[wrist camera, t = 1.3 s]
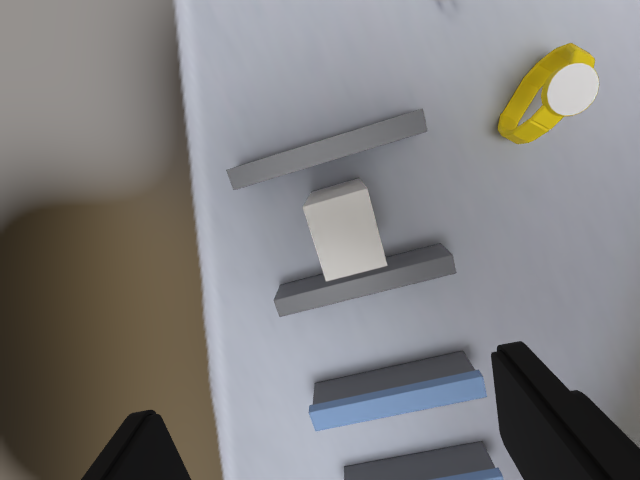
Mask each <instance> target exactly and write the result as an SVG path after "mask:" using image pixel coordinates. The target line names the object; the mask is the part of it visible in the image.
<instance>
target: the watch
mask: <svg viewBox="0 0 640 480" xmlns="http://www.w3.org/2000/svg"><path fill="white" fill-rule="evenodd" d="M568 64H569V65H568ZM594 64H595V59H594V58H593V57H592V56H591V55H590V54H589V53H588V52H586V51H585V50H583V49H581V48H579V47H578V46H576V45H574V44H573V43H569V44H566V45H563V46H561V47H558V48H556V49H554V50H553V51H551V52H550V53H549V54H547V55H546V56H545V57H544V58H542V59H541V60H540V61H539V63H537V64H536V65H535V66H534V67H533V68H532V69H531V70H530V71H529V72H528V74H527V75H526V76H525V77H524V78H523V80H522V81H521V83H520V85H519V86H518V88H517V90H516V91H515V93H514V95H513V96H512V98H511V100H510V101H509V103H508V105H507V106H506V108H505V109H504V111H503V113H501V114H500V119H499V124H498V131H499V133H500V134H501V135H502V136H503V137H505V138H507V139H509V140H510V141H512V142H514V143H516V144H523V143H529V142H532V141H534V140H535V139H537V138H539V137H540V136H542V135H543V134H545V133H547V132H548V131H549V130H550V129H552V128H553V127H554V126H555V125H556V124H557V123H558V122H559V121H560V120H561V119H562V118H563V117H565V116H573V115H576V114H579V113H581V112H582V111H584V110H585V109H587V108H588V107H589V106H590V105H591V103H592V102H593V101H594V99H595V97H596V95H597V93H598V89H599V78H598V75H597V73H596V71H595V70H594V69H593V68H594ZM542 86H543V88H542V93H541V99H542V104H543V105H542V106H541V107H540V108H539V109H538V110H537V112H536V113H535V114H534V115H533V116H532V117H531V118H530V119H528V120H527V121H525V122H524V123H523V124H521V125H520V126H518V122H519V121H520V119H521V118H522V116H523V114H524V113H525V111H526V110H527V108H528V106H529V105H530V103H531V102H532V100H533V98H534V97H535V95H536V94H537V92H538V90H539V89H540V88H541V87H542Z"/></svg>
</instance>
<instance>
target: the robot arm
mask: <svg viewBox="0 0 640 480" xmlns="http://www.w3.org/2000/svg"><path fill="white" fill-rule="evenodd" d="M491 359H492V368H493V377H494V386H495V394H496V403H497V412H498V421H499V430H500V435H501V438H502V441H503V443H504V445H505V447H506V449H507V451H508V453H509V454H510V456H511V458H512V460H513V461H514V463H515V465H516V467H517V468H518V470H519V472H520V474H521V475H522V477H523V479H524V480H640V448H639V447H638V446H637V445H636V444H634V443H633V442H632V441H631V440H630V439H629V438H628V437H627V436H626V435H625V434H624V433H623V432H622V431H621V430H620V429H619V428H618V427H617V426H616V425H615V424H614V423H613V422H612V421H611V420H610V419H609V418H608V417H607V416H606V415H605V414H604V413H603V412H602V411H601V410H600V409H599V408H598V407H597V406H596V405H595V404H594V403H593V402H592V401H591V400H590V399H589V398H588V397H587V396H586V395H585V394H583V393H582V392H580V391H578V390H574V391H570V390H569V389H568V388H567V387H566V386H565V385H564V384H563V383H562V382H561V381H560V380H559V379H558V378H557V377H556V376H555V375H554V374H553V373H552V372H551V371H550V370H549V368H548V367H547V366H546V365H545V364H544V363H543V362H542V361H541V360H540V359H539V358H538V357H537V356H536V355H535V354H534V353H533V352H532V351H531V350H530V349H529V348H528V347H527V346H526V344H524V343H523V342H521V341H519V342H513V343H508V344H502V345H498V346H497V352H493V353H492V354H491ZM81 480H191V478H190V477H189V474H188V472H187V470H186V468H185V466H184V464H183V461H182V459H181V457H180V455H179V453H178V451H177V449H176V447H175V445H174V442H173V441H172V438H171V436H170V434H169V432H168V430H167V428H166V426H165V423H164V421H163V419H162V417H161V416H160V415H159V414H156V412H155V411H153V410H146V411H141V412H136V413H132V414H130V415H129V416H128V417H127V418H126V419H125V420H124V422H123V423H122V425H121V426H120V427H119V429H118V430H117V431H116V433H115V434H114V436H113V437H112V438H111V440H110V441H109V442H108V444H107V445H106V446H105V448H104V449H103V450H102V452H101V453H100V454H99V456H98V457H97V459H96V460H95V461H94V463H93V464H92V465H91V467H90V468H89V470H88V471H87V472H86V474H85V475H84V477H83V478H82V479H81Z"/></svg>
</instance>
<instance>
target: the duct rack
mask: <svg viewBox="0 0 640 480" xmlns="http://www.w3.org/2000/svg"><path fill="white" fill-rule="evenodd" d="M424 132H427V126H426V121H425V117H424V112H423V109H419V110H416V111H413V112H410V113H407V114H403V115H400V116H397V117H394V118H391V119H387V120H384V121H381V122H378V123H375V124H371V125H368V126H365V127H362V128H359V129H355V130H352V131H349V132H346V133H343V134H339V135H336V136H333V137H330V138H327V139H324V140H320V141H317V142H314V143H311V144H308V145H304V146H301V147H298V148H295V149H292V150H288V151H285V152H282V153H279V154H276V155H272V156H269V157H266V158H263V159H260V160H256V161H253V162H250V163H247V164H244V165H240V166H237V167H234V168H231V169H228V170H226V171H227V174H228V176H229V179H230V182H231V185H232V187H233V190H236V189H240V188H243V187H246V186H250V185H253V184H256V183H259V182H263V181H266V180H269V179H273V178H276V177H279V176H282V175H286V174H289V173H292V172H296V171H299V170H302V169H306V168H309V167H312V166H315V165H319V164H322V163H325V162H329V161H332V160H335V159H338V158H342V157H345V156H348V155H352V154H355V153H358V152H361V151H365V150H368V149H371V148H375V147H378V146H381V145H385V144H388V143H391V142H394V141H398V140H401V139H404V138H408V137H411V136H414V135H417V134H421V133H424ZM386 262H387V266H384V267H380V268H377V269H373V270H369V271H365V272H361V273H357V274H353V275H350V276H346V277H342V278H338V279H334V280H330V281H326V280H325V277H324V274H321V275H317V276H313V277H309V278H306V279H302V280H298V281H294V282H290V283H286V284H283V285H280V286H279V289H278V291H277V294H276V296H275V298H274V303H275V306H276V308H277V311H278V314H279V317H282V316H286V315H290V314H294V313H298V312H302V311H306V310H310V309H314V308H318V307H322V306H326V305H330V304H334V303H338V302H342V301H346V300H350V299H354V298H358V297H362V296H366V295H371V294H375V293H379V292H383V291H387V290H391V289H395V288H399V287H403V286H407V285H411V284H415V283H419V282H423V281H427V280H431V279H435V278H439V277H443V276H447V275H451V274H455V273H456V269H455V264H454V259H453V255H452V254H451V253H450V252H449V251H448V250H447V249H446V248H445V247H444V246H443V245H442V244H436V245H432V246H428V247H424V248H420V249H417V250H413V251H409V252H405V253H401V254H397V255H394V256H390V257H386ZM484 397H487V394H486V389H485V384H484V379H483V376H482V374H481V373H480V371H479V370H475V369H474V368H473V366H472V364H471V363H470V361H469V360H468V358H467V356H466V355H465V353H464V352H463V351H460V352H456V353H451V354H447V355H442V356H438V357H433V358H429V359H424V360H419V361H415V362H410V363H406V364H401V365H397V366H392V367H388V368H383V369H379V370H374V371H369V372H365V373H360V374H356V375H351V376H347V377H342V378H338V379H333V380H328V381H324V382H319V383H315V386H314V397H313V405H310V406H309V415H310V418H311V420H312V423H313V426H314V428H315V431H320V430H325V429H330V428H335V427H340V426H345V425H350V424H355V423H360V422H365V421H370V420H375V419H379V418H384V417H389V416H394V415H399V414H404V413H409V412H414V411H419V410H424V409H429V408H434V407H439V406H444V405H449V404H454V403H459V402H464V401H469V400H474V399H479V398H484ZM344 480H503V476H502V474H501V472H500V470H499V468H495V466H494V464H493V462H492V460H491V458H490V456H489V454H488V452H487V450H486V448H485V446H484V444H483V442H482V441H481V442H476V443H470V444H465V445H459V446H454V447H449V448H443V449H438V450H433V451H427V452H422V453H416V454H411V455H406V456H400V457H395V458H389V459H384V460H379V461H373V462H368V463H362V464H357V465H352V466H346V467H344Z"/></svg>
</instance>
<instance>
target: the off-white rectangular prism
mask: <svg viewBox="0 0 640 480" xmlns="http://www.w3.org/2000/svg"><path fill="white" fill-rule="evenodd" d="M303 210H304V213H305V217H306V220H307V223H308V226H309V229H310V232H311V236H312V239H313V242H314V245H315V248H316V252H317V255H318V258H319V261H320V264H321V267H322V271H323V274H324V277H325V280H326V281H330V280H334V279H338V278H342V277H346V276H350V275H353V274H357V273H361V272H365V271H369V270H373V269H377V268H380V267H384V266H387V262H386V258H385V254H384V250H383V247H382V243H381V239H380V235H379V231H378V227H377V223H376V220H375V216H374V212H373V208H372V204H371V200H370V197H369V193H368V189H367V187H366V186H365V185H364V183H363V182H362V181H361V179H360V178H357V179H354V180H350V181H347V182H344V183H340V184H337V185H333V186H330V187H327V188H323V189H320V190H316V191H313V192H311V193H310V195H309V197H308V198H307V200H306V202H305V204H304V205H303Z"/></svg>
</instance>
